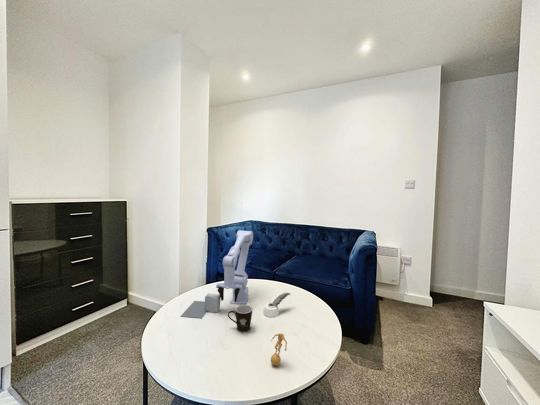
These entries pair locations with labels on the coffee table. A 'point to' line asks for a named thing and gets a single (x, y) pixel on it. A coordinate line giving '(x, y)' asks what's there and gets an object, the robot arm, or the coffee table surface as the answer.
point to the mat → (195, 310)
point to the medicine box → (212, 302)
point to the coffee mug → (242, 317)
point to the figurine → (275, 357)
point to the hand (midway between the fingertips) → (229, 300)
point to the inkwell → (274, 306)
